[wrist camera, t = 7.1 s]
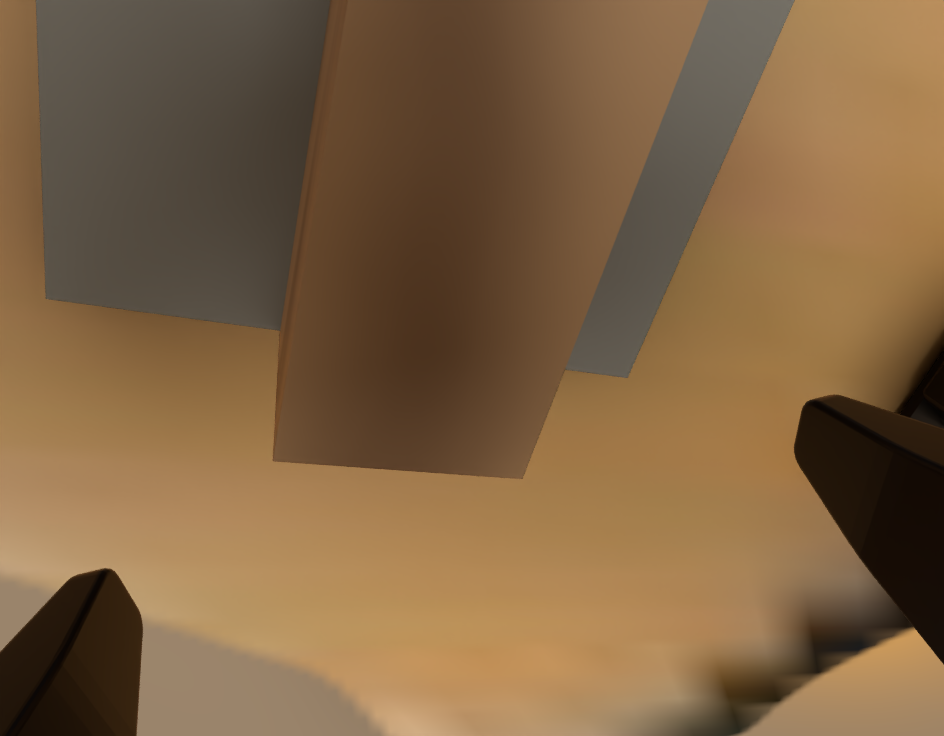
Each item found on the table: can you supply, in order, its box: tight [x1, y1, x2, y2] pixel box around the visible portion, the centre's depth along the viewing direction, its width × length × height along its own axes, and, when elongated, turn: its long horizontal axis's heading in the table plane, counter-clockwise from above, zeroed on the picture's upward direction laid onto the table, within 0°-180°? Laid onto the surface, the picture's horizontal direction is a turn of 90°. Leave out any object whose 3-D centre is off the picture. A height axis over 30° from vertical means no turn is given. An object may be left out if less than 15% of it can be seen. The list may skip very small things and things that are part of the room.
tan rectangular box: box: [273, 0, 708, 479], centre depth 12 cm, size 5×10×5 cm, turn 165°
